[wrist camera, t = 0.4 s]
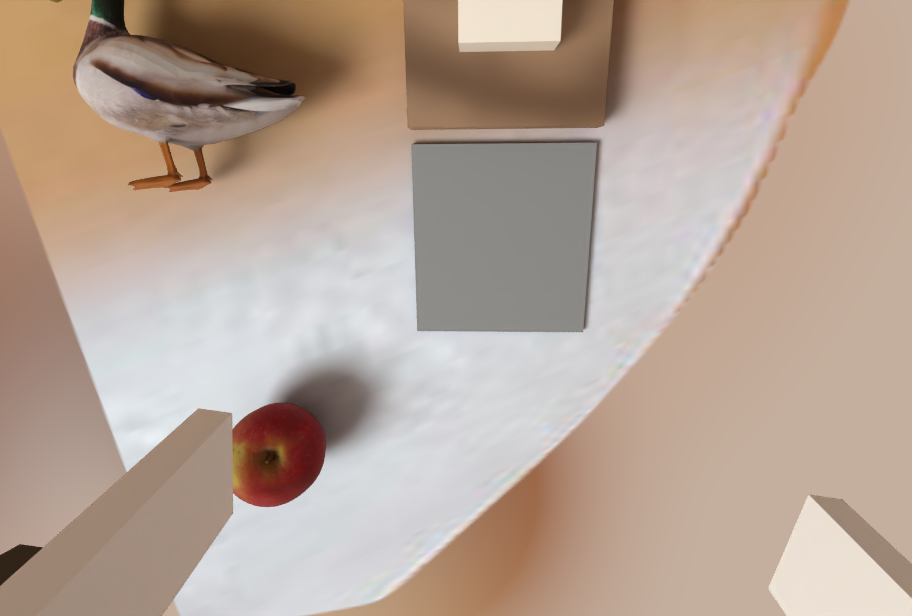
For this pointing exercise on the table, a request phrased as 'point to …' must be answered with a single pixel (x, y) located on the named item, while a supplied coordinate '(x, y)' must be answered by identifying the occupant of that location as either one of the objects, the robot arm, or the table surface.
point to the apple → (276, 454)
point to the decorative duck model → (171, 92)
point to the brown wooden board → (506, 73)
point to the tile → (509, 25)
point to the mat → (502, 235)
